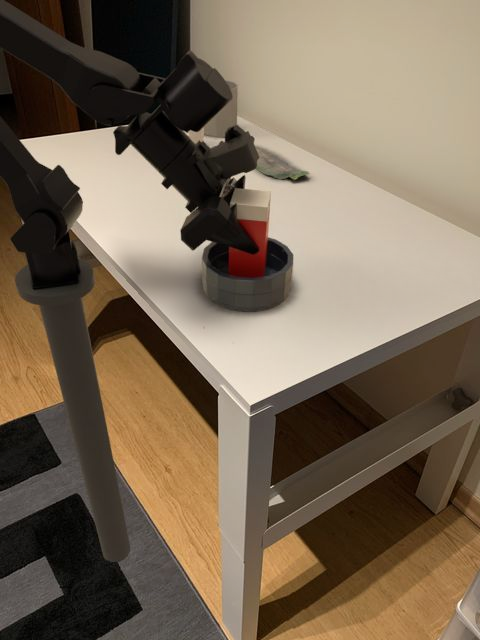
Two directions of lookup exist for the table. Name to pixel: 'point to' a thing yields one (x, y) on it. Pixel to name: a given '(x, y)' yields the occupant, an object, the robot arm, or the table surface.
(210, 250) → the pot
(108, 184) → the table surface
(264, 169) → the leaf
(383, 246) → the table surface
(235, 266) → the soup carton
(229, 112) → the cup
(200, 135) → the teacup
